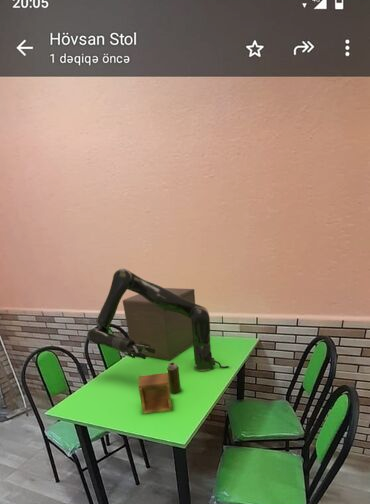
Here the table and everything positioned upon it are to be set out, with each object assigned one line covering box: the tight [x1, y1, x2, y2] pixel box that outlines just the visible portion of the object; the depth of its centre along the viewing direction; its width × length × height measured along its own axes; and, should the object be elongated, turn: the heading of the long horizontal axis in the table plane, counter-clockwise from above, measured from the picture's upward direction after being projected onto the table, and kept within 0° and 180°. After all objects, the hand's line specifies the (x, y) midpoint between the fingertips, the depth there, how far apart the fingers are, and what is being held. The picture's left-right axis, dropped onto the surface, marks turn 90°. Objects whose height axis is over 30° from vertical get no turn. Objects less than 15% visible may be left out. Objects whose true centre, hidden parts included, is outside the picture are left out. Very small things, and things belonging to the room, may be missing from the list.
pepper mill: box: [166, 361, 182, 395], centre depth 161 cm, size 5×5×15 cm
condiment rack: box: [138, 372, 173, 414], centre depth 150 cm, size 13×10×14 cm
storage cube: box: [122, 287, 196, 361], centre depth 210 cm, size 34×29×34 cm
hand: (150, 354), depth 163 cm, fingers open, 8 cm apart
